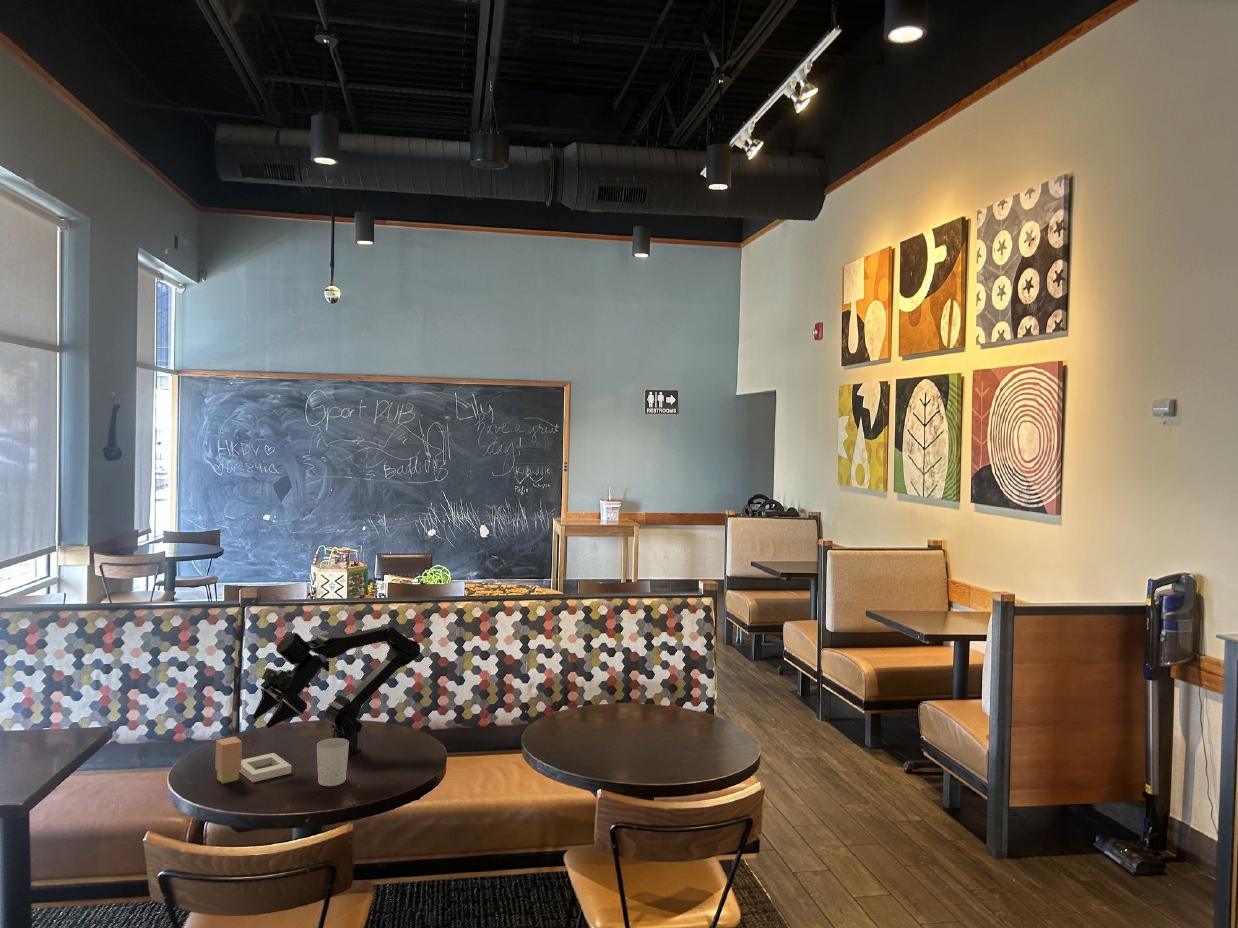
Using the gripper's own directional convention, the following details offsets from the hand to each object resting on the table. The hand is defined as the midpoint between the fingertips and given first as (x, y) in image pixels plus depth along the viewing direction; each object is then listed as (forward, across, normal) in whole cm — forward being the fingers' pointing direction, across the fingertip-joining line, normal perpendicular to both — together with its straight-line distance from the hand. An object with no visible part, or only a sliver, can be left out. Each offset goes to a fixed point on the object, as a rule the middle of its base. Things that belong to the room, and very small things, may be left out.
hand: (260, 722), depth 224 cm
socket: (+8, 0, +10) cm, 13 cm away
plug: (+15, 0, +4) cm, 15 cm away
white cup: (+1, +18, +18) cm, 25 cm away
